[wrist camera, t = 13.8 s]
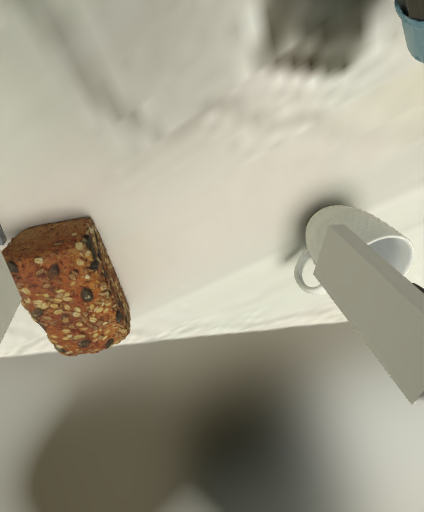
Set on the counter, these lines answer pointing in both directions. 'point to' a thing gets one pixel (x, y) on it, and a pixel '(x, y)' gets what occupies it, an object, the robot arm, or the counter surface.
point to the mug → (365, 227)
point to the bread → (69, 285)
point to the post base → (2, 237)
